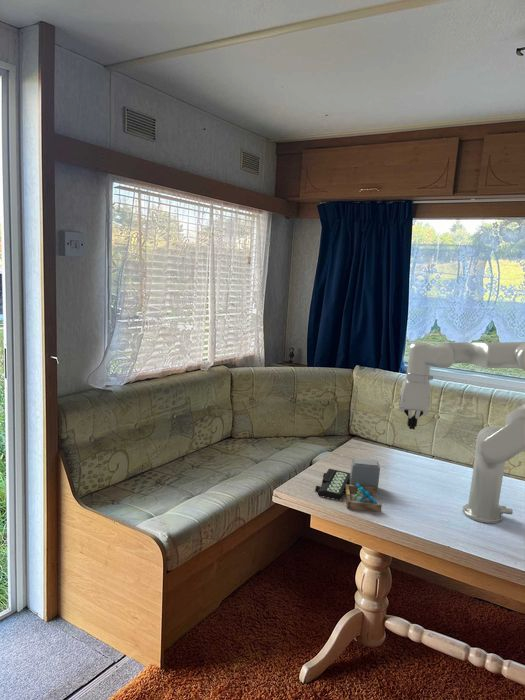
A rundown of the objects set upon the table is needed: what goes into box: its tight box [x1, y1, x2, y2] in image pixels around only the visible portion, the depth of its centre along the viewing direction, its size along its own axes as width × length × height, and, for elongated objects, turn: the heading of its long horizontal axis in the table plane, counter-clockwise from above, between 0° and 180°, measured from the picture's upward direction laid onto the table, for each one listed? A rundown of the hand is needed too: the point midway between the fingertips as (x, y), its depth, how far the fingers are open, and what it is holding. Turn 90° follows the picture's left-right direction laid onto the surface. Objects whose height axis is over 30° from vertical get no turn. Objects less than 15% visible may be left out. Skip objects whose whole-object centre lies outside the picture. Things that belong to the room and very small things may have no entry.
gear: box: [353, 483, 379, 504], centre depth 182 cm, size 11×6×10 cm
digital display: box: [314, 468, 350, 501], centre depth 196 cm, size 21×3×10 cm
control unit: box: [348, 457, 381, 493], centre depth 195 cm, size 10×7×11 cm
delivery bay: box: [344, 483, 382, 513], centre depth 185 cm, size 12×14×3 cm
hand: (411, 428), depth 184 cm, fingers closed
